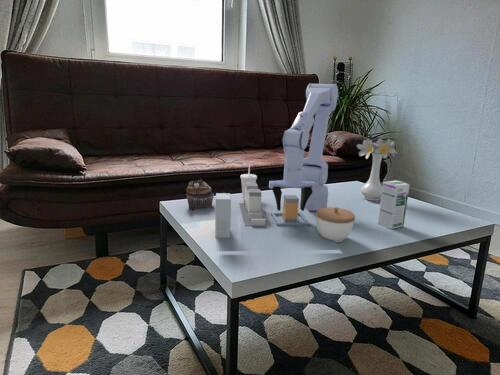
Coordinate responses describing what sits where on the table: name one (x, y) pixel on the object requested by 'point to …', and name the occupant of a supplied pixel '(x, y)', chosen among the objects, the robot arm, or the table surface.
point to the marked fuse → (290, 208)
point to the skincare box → (222, 215)
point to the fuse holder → (253, 216)
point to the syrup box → (393, 204)
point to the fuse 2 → (254, 199)
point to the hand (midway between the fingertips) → (290, 209)
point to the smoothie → (247, 180)
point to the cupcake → (199, 195)
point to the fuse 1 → (249, 186)
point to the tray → (290, 223)
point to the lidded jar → (334, 223)
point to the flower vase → (375, 166)
